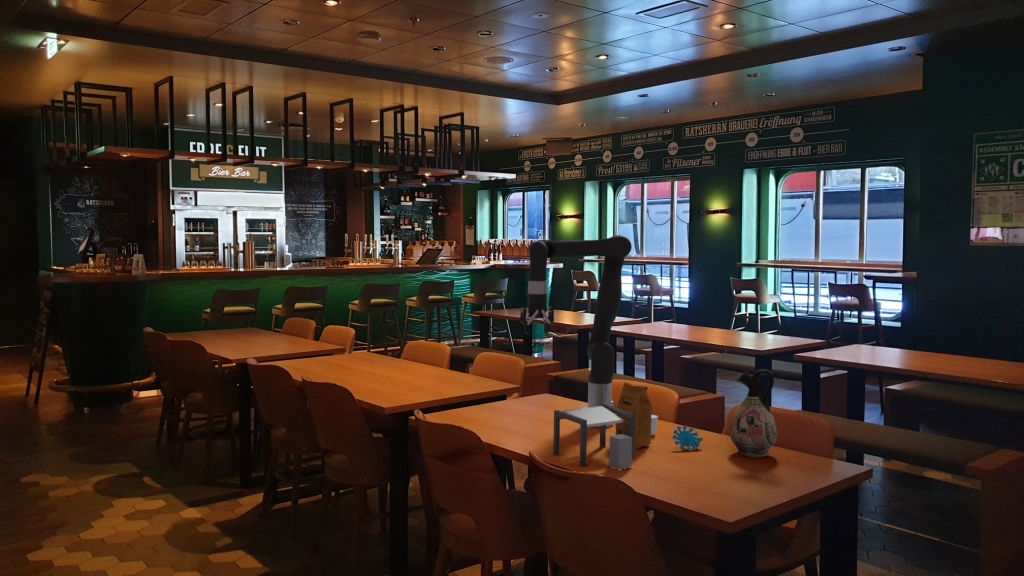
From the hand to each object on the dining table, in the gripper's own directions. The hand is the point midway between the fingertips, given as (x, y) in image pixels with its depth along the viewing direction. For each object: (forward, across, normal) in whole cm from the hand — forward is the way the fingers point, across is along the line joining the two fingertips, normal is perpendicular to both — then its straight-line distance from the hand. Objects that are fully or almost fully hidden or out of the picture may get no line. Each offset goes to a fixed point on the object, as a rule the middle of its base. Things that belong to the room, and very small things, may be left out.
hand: (537, 333), depth 300 cm
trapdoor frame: (+36, -6, -46) cm, 59 cm away
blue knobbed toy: (+36, +29, -54) cm, 72 cm away
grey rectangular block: (+26, -6, -61) cm, 66 cm away
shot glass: (+36, +30, -32) cm, 57 cm away
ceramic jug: (+36, +44, -71) cm, 91 cm away
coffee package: (+36, +15, -41) cm, 57 cm away
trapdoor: (+23, -6, -45) cm, 51 cm away
